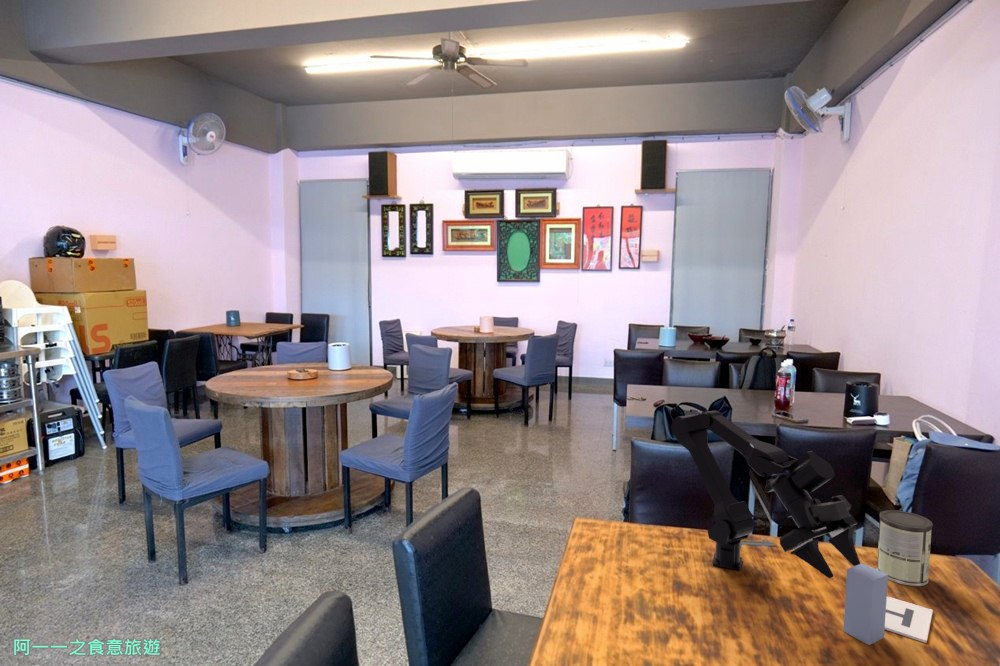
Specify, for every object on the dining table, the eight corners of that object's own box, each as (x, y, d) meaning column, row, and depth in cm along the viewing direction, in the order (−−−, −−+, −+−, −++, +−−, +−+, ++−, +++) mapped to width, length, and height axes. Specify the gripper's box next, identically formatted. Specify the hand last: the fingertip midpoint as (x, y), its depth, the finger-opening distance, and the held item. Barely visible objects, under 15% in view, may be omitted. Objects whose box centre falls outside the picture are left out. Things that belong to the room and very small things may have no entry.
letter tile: (843, 615, 121) (843, 613, 121) (856, 589, 131) (856, 586, 131) (926, 643, 112) (926, 640, 111) (932, 612, 122) (932, 609, 122)
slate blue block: (843, 631, 115) (847, 569, 114) (858, 624, 118) (861, 563, 116) (869, 645, 111) (873, 580, 110) (883, 637, 113) (888, 574, 112)
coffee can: (870, 562, 144) (874, 507, 143) (919, 568, 141) (923, 513, 139) (883, 582, 134) (887, 523, 133) (935, 590, 131) (940, 530, 130)
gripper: (795, 491, 116) (847, 567, 107) (850, 476, 125) (902, 546, 116) (759, 515, 123) (805, 588, 115) (814, 500, 132) (860, 567, 123)
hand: (845, 572), depth 117 cm, fingers open, 9 cm apart
